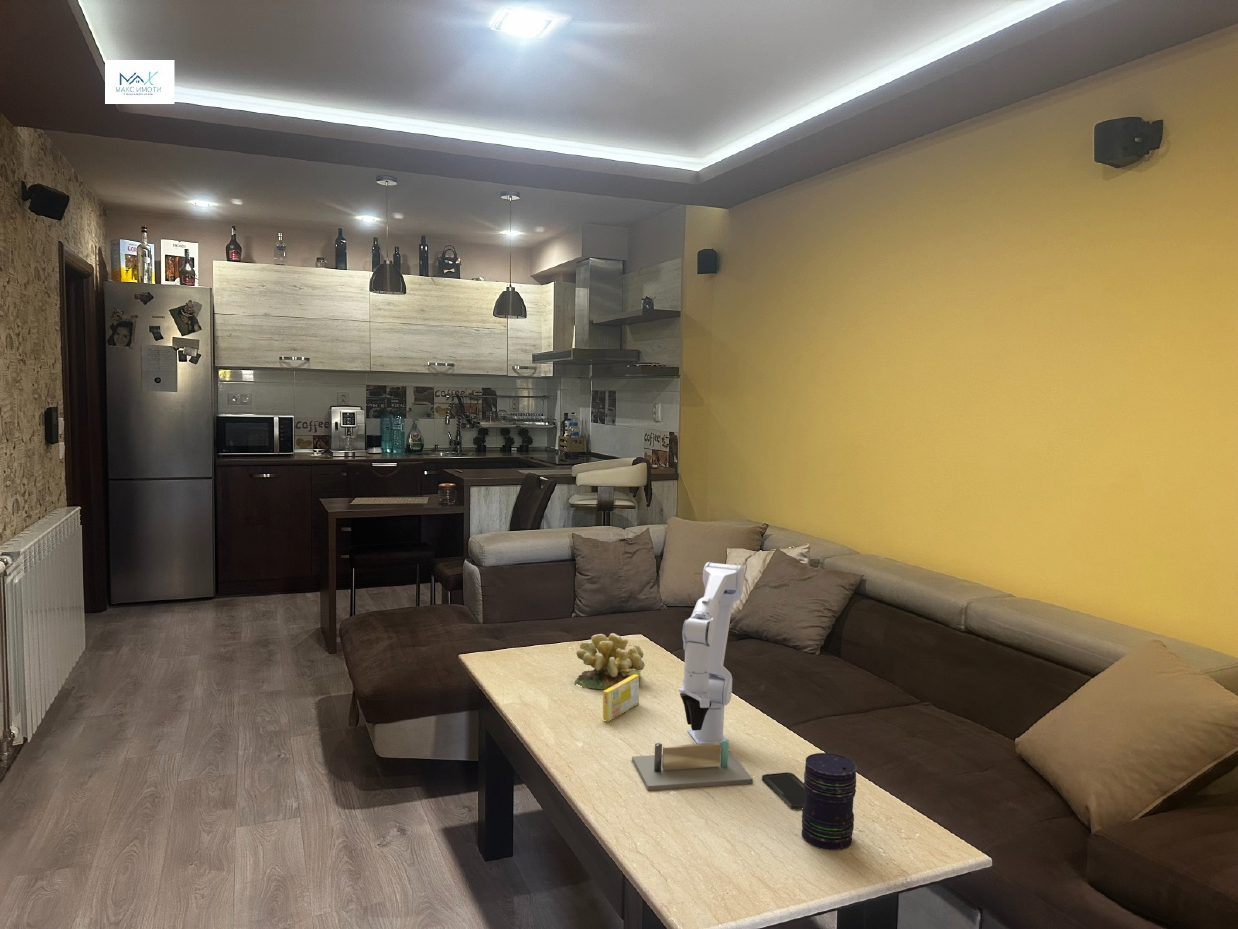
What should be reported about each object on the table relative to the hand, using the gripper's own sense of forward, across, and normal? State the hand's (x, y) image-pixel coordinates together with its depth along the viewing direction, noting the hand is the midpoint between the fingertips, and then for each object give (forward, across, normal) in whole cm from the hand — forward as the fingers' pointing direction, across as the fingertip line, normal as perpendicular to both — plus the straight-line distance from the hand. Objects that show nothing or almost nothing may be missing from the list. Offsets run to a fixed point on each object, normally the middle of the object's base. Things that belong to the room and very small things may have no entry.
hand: (694, 726), depth 196 cm
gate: (+7, +6, -2) cm, 9 cm away
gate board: (+8, +5, -2) cm, 10 cm away
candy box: (+9, -32, -10) cm, 35 cm away
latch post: (+8, +6, +6) cm, 12 cm away
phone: (+9, +18, +17) cm, 26 cm away
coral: (+9, -58, -9) cm, 59 cm away
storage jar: (+9, +36, +16) cm, 41 cm away
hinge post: (+8, +6, -10) cm, 14 cm away
